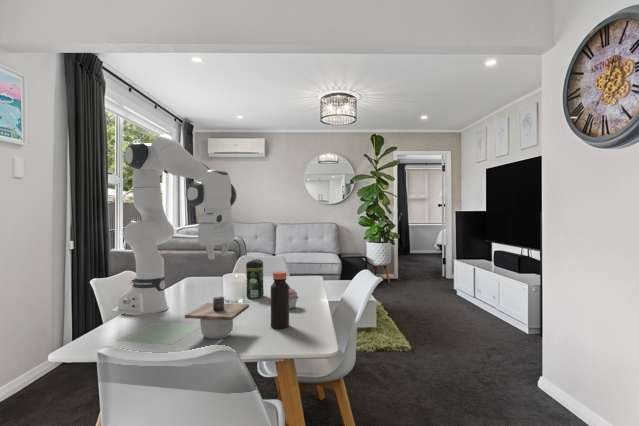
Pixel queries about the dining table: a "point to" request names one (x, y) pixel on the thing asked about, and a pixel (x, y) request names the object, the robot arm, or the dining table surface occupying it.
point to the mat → (161, 333)
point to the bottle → (279, 301)
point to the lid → (217, 310)
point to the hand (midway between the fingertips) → (218, 257)
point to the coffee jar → (254, 279)
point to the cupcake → (292, 298)
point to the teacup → (216, 328)
